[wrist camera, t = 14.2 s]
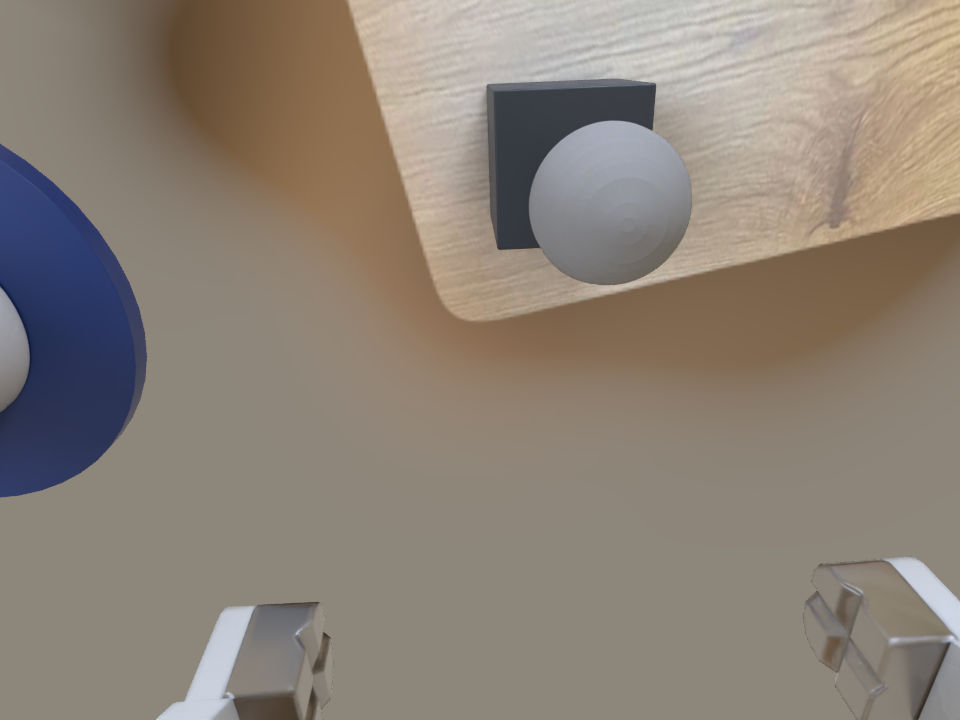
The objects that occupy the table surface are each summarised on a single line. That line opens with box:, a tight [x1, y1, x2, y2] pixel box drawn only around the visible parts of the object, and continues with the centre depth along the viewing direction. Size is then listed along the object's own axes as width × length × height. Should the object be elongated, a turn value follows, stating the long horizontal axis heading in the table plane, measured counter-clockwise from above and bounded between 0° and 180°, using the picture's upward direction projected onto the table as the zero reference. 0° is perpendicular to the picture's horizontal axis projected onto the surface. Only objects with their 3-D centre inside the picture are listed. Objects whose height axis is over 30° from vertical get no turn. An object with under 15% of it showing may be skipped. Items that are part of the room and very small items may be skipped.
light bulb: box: [529, 121, 692, 285], centre depth 23 cm, size 6×6×10 cm
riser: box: [487, 79, 656, 250], centre depth 31 cm, size 7×7×7 cm
